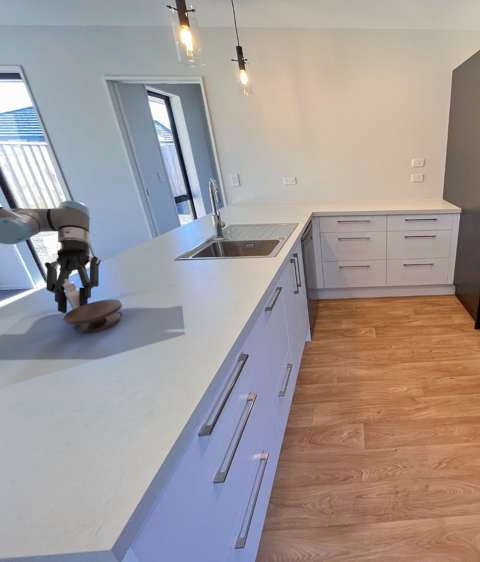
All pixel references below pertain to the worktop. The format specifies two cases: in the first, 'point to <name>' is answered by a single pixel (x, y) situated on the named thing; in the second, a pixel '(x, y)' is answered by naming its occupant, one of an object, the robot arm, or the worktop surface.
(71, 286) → the eye dropper bottle
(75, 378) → the worktop surface
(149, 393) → the worktop surface
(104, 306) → the walnut stand
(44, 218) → the robot arm
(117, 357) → the worktop surface
